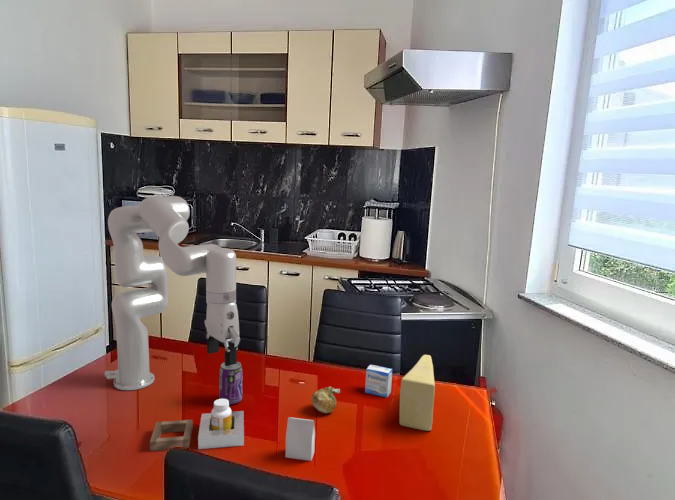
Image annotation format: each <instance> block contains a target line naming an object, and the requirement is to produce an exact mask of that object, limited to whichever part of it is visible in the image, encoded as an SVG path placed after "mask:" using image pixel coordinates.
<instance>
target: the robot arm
mask: <svg viewBox="0 0 675 500" xmlns="http://www.w3.org/2000/svg"><path fill="white" fill-rule="evenodd" d="M190 212H191V210H190V206H189V204H188V202H187V201H186V200H185V199H184V198H182V197H181V196H177V195H169V196H168V195H166V196H165V195H164V196H163V195H162V196H161V195H160V196H159V195H158V196H148V197H146V198H144V199H143V200H142V201H141V202H140V203H139V204H138V205H127V206H126V205H125V206H120V207H116V208H114V209H112V210H111V211H110V213H109V215H108V219H107V226H108V227H107V228H108V232H109V234H110V237H111V240H112V245H113V250H114V251H113V253H114V254H113V255H114V272H115V280H116V283H117V285H119V286H120V287H122V288H132V287H133V288H134V287H141V286H145V285H148V287H143V288H137V289H132V290H126V291H122V292H120V293H118V294H116V295H115V296H114V297H113V299H112V300H111V310H112V314H113V318H114V325H115V330H116V331H115V332H116V349H117V369H115V370H105V371H104V377H105V378H106V380H113V386H114V388H115V389H117V390H121V391H137V390H141V389H144V388H146V387H149V386H150V385H152V384H153V383H154V381H155V374H154V373H152V372H150V352H149V351H150V349H149V330H148V328H147V326H146V325H145V324H144V323H143V322H142V321H141V319H144V318H147V317H150V316H155V315H158V314H161V313H164V312H166V310H167V308H168V305H169V284H168V283H169V280H168V279H169V278H168V277H169V275H168V269H170V271H172V272H173V273H174V274H176V275H178V276H180V277H189V276H194V275H200V274H205V284H206V285H205V291H206V292H205V294H206V296H205V298H206V301H205V302H206V304H207V305H206V319H204V325H205V326H204V327H205V332H206V335H205V338H206V339H207V340H206V353H207V354H208V355H210V354H216V353H218V352H219V351H220V345H219V344H220V343H219V342H221V343H222V344H223V345H224V348H225V351H224V362H225V366H230V365H233V364H236V363H237V362H238V361H237V355H238V348H239V347H240V342H241V338H240V322H239V310H238V306H237V254H236V252H235V251H234V250H232V249H229V248H223V247H221V246H219V245H218V244H215V243H211V244H210V243H209V244H200V245H199V244H198V245H190V246H189V245H188V246H181V245H179V244H180V243H181V242H183V240H184V239H186V237H187V235H188V233H189V230H190V226H189V223H188V219H189V218H190V214H191V213H190ZM139 233H140V234H141V233H143V234H144V233H155V235H157V237H158V238H159V239H158V252H159V255H160V256H159V255H157V254H149V255H144V245H143V242H142V240H141V238H140V237H139V235H138V234H139ZM167 267H168V269H167ZM229 343H230V344H229Z"/></svg>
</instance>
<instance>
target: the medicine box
mask: <svg viewBox="0 0 675 500" xmlns="http://www.w3.org/2000/svg"><path fill="white" fill-rule="evenodd" d="M365 370H366V373H365V388H364V393H365V394H367V395H368V394H369V395H373V396H379V397H382V398H386V399H387V398H388V397H389V396H390V394H391V393H392V382H393V381H392V379H393V368H388V367H384V366H380V365H374V364H369V365H368V366H367V368H366V369H365Z"/></svg>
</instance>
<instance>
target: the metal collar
mask: <svg viewBox="0 0 675 500" xmlns="http://www.w3.org/2000/svg"><path fill="white" fill-rule="evenodd" d="M231 412H232V429H226V430H213V431H211V412H209V413H208V412H207V413H201V417H200V423H199V430H198V435H197V442H198V443H197V445H198V447H197V449H198V450H207V449H218V448H231V447H240V446H241V447H242V446H244V445H245V425H244V423H245V420H244V418H245V417H244V416H245V415H244V413H245V412H244V410H240V411H239V410H238V411H231Z"/></svg>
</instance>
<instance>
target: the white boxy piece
mask: <svg viewBox="0 0 675 500" xmlns="http://www.w3.org/2000/svg"><path fill="white" fill-rule="evenodd" d="M286 425H287V426H286V432H285V455H284V456H285V458H287V459H295V460H302V461H310V462H312V460H313V457H314V454H315V445H316V444H315V441H316V428H315V420H313V419H306V418H298V417H290V416H288V417H287V424H286Z"/></svg>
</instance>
